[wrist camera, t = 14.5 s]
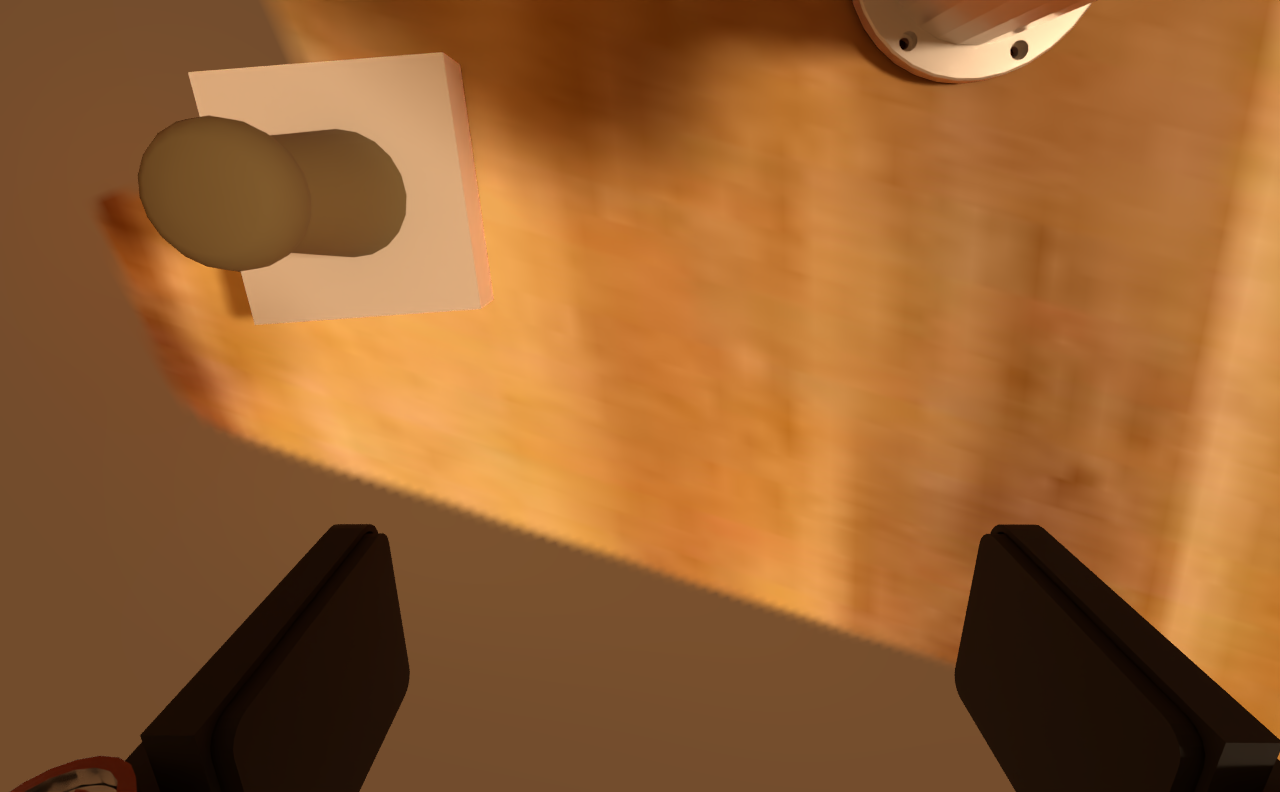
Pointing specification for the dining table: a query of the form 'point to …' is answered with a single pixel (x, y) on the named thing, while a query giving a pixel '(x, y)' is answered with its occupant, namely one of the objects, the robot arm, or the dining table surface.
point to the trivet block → (423, 153)
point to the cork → (268, 193)
